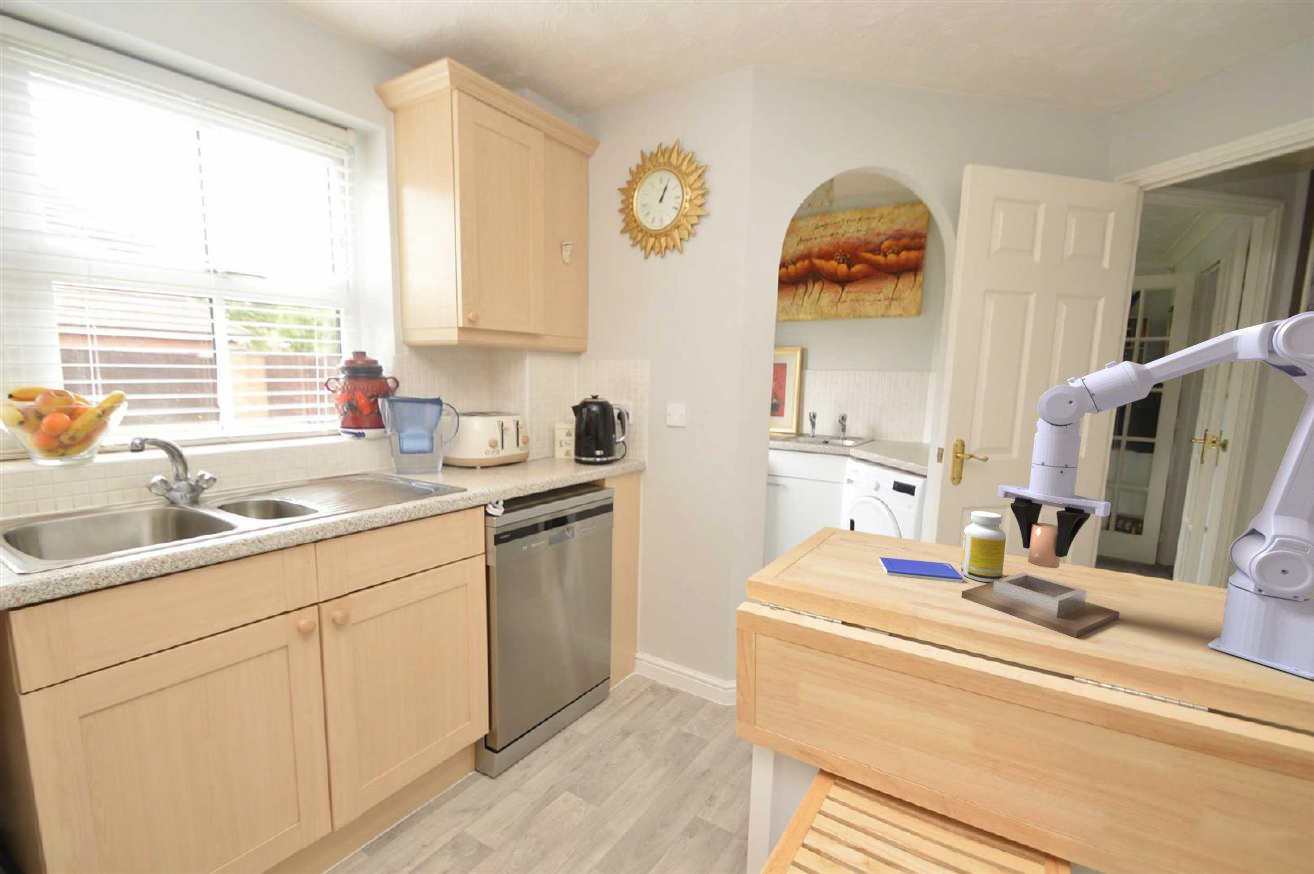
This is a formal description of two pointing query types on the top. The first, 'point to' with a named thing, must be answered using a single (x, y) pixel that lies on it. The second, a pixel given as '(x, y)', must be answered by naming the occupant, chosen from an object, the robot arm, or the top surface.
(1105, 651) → the top surface
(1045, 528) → the terracotta peg
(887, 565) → the hard drive
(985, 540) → the pill bottle
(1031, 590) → the steel collar
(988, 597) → the mount board
